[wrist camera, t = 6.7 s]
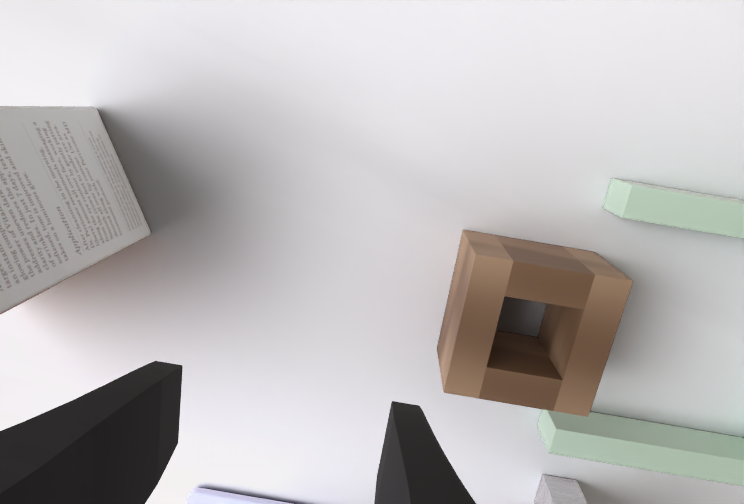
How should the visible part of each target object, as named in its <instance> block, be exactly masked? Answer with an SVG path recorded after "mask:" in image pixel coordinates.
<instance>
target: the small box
mask: <svg viewBox="0 0 744 504" xmlns="http://www.w3.org/2000/svg"><path fill="white" fill-rule="evenodd" d="M150 233H151V232H150V229H149V227H148V225H147V222H146V220H145V218H144V215H143V213H142V211H141V209H140V206H139V204H138V202H137V199H136V197H135V195H134V192H133V190H132V188H131V185H130V183H129V181H128V179H127V176H126V174H125V172H124V170H123V167H122V165H121V163H120V160H119V158H118V156H117V154H116V151H115V149H114V147H113V145H112V142H111V140H110V138H109V136H108V133H107V131H106V129H105V127H104V124H103V122H102V120H101V118H100V115H99V113H98V111H97V109H96V108H95V107H92V106H91V107H62V106H59V107H40V106H0V314H2V313H4V312H6V311H8V310H10V309H12V308H13V307H15V306H17V305H19V304H21V303H23V302H25V301H27V300H29V299H30V298H32V297H34V296H36V295H38V294H40V293H42V292H43V291H45V290H47V289H49V288H51V287H52V286H54V285H56V284H58V283H60V282H61V281H63V280H65V279H67V278H69V277H71V276H72V275H74V274H76V273H78V272H80V271H82V270H84V269H86V268H88V267H90V266H92V265H94V264H96V263H98V262H100V261H102V260H104V259H105V258H107V257H109V256H111V255H113V254H114V253H116V252H118V251H120V250H122V249H124V248H125V247H127V246H129V245H131V244H133V243H135V242H137V241H139V240H141V239H143V238H145V237H147V236H149V235H150Z"/></svg>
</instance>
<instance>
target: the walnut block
mask: <svg viewBox="0 0 744 504" xmlns="http://www.w3.org/2000/svg"><path fill="white" fill-rule="evenodd" d="M632 283H633V281H632V280H631V279H630V278H628V277H627V276H626V275H624V274H623V273H622V272H620V271H619V270H618V269H616V268H615V267H614V266H612V265H611V264H610V263H609V262H607V261H606V260H605V259H603V258H602V257H601V256H599V255H598V254H597V253H595V252H592V251H586V250H580V249H574V248H568V247H562V246H556V245H550V244H544V243H539V242H533V241H527V240H521V239H515V238H509V237H503V236H497V235H491V234H485V233H479V232H473V231H468V230H463V232H462V237H461V241H460V246H459V250H458V255H457V259H456V264H455V268H454V273H453V277H452V282H451V287H450V291H449V296H448V300H447V305H446V309H445V314H444V318H443V323H442V327H441V332H440V337H439V341H438V346H437V352H438V359H439V365H440V371H441V378H442V384H443V391H444V393H450V394H456V395H462V396H468V397H474V398H480V399H485V400H491V401H497V402H503V403H509V404H515V405H521V406H527V407H532V408H538V409H544V410H550V411H556V412H562V413H568V414H574V415H580V416H585V417H588V416H589V413H590V410H591V407H592V404H593V401H594V398H595V395H596V392H597V389H598V386H599V383H600V380H601V377H602V374H603V371H604V368H605V365H606V362H607V359H608V356H609V353H610V350H611V347H612V343H613V340H614V337H615V334H616V331H617V328H618V325H619V322H620V319H621V316H622V313H623V310H624V307H625V304H626V301H627V298H628V295H629V292H630V289H631V286H632ZM504 296H506V297H512V298H518V299H524V300H530V301H536V302H542V303H547V305H546V308H545V312H544V315H543V319H542V322H541V326H540V329H539V333H538V337H532V336H526V335H520V334H515V333H509V332H503V331H497V330H496V328H497V324H498V320H499V316H500V312H501V308H502V304H503V300H504Z"/></svg>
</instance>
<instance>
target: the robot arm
mask: <svg viewBox="0 0 744 504" xmlns="http://www.w3.org/2000/svg"><path fill="white" fill-rule="evenodd" d="M181 381H182V365H176V364H170V363H164V362H158V361H155V362H152V363H150V364H147V365H145V366H143V367H141V368H139V369H136V370H134V371H132V372H130V373H128V374H126V375H124V376H122V377H120V378H118V379H116V380H114V381H112V382H110V383H108V384H106V385H104V386H102V387H100V388H98V389H95V390H93V391H91V392H89V393H87V394H85V395H83V396H81V397H79V398H77V399H75V400H73V401H70V402H68V403H66V404H63V405H61V406H59V407H57V408H54V409H52V410H50V411H47V412H45V413H43V414H41V415H38V416H36V417H34V418H31V419H29V420H27V421H25V422H22V423H20V424H17V425H15V426H12V427H10V428H7V429H5V430H2V431H0V504H145V502H146V501H147V499H148V498H149V496H150V495H151V493H152V492H153V490H154V489H155V487H156V485H157V484H158V482H159V480H160V478H161V476H162V474H163V472H164V470H165V468H166V466H167V464H168V462H169V460H170V458H171V456H172V454H173V452H174V450H175V448H176V446H177V444H178V433H179V416H180V399H181ZM187 504H292V503H286V502H280V501H274V500H269V499H263V498H257V497H251V496H245V495H239V494H233V493H228V492H222V491H216V490H210V489H204V488H194V489H192V490H191V491H190V493H189V495H188V497H187ZM375 504H476V503H475V501H474V500H473V499H472V497H471V496H470V494H469V493H468V491H467V490H466V488H465V487H464V485H463V484H462V482H461V480H460V479H459V477H458V476H457V474H456V472H455V471H454V469H453V467H452V466H451V464H450V462H449V461H448V459H447V457H446V456H445V454H444V452H443V450H442V448H441V447H440V445H439V443H438V441H437V439H436V437H435V435H434V433H433V431H432V429H431V427H430V425H429V423H428V421H427V419H426V417H425V415H424V413H423V411H422V409H421V408H420V406H417V405H411V404H406V403H400V402H394V401H392V404H391V409H390V414H389V419H388V424H387V429H386V434H385V439H384V444H383V449H382V454H381V459H380V464H379V469H378V474H377V482H376V493H375Z"/></svg>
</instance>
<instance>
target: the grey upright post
mask: <svg viewBox="0 0 744 504" xmlns="http://www.w3.org/2000/svg"><path fill="white" fill-rule="evenodd" d="M534 503H535V504H588V503H587V501H586V499H585V497H584V495H583V493H582V490H581V488H580V486H579V484H578V482H577V480H573V479H567V478H561V477H555V476H549V475H542V479H541V482H540V485H539V488H538V491H537V495H536V498H535V501H534Z"/></svg>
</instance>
